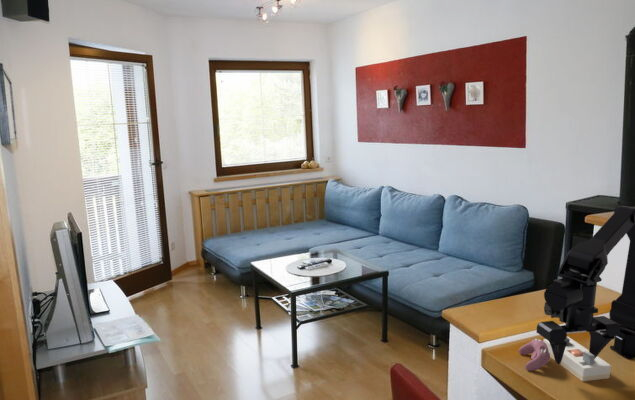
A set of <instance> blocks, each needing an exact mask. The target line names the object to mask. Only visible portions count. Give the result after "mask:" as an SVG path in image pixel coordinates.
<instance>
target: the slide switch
mask: <svg viewBox="0 0 635 400" xmlns="http://www.w3.org/2000/svg"><path fill="white" fill-rule="evenodd" d="M594 359H595V356H594V355H593V354H591V353H590V352H588V351H585V352H583V361H585V365H592V364H594Z"/></svg>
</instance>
